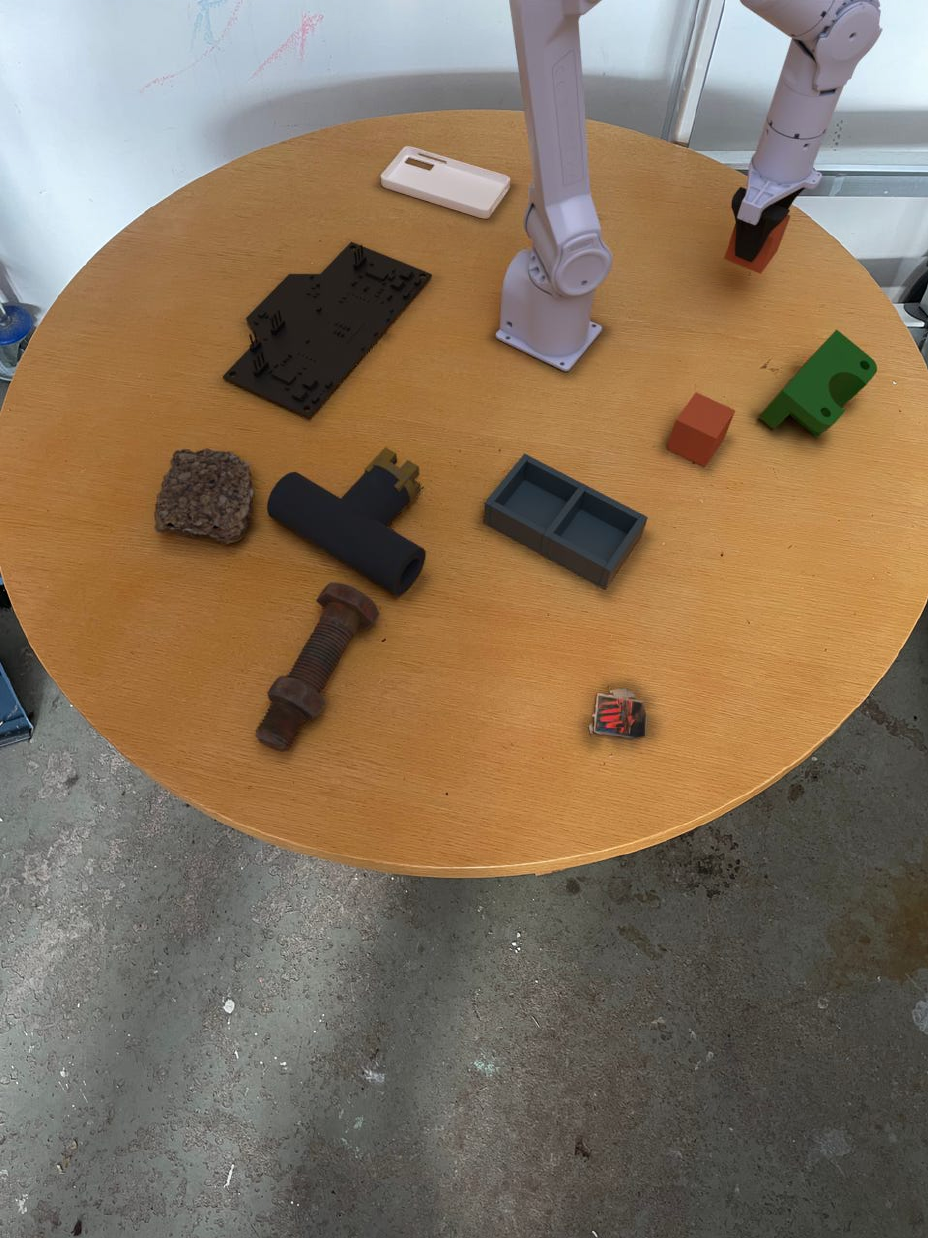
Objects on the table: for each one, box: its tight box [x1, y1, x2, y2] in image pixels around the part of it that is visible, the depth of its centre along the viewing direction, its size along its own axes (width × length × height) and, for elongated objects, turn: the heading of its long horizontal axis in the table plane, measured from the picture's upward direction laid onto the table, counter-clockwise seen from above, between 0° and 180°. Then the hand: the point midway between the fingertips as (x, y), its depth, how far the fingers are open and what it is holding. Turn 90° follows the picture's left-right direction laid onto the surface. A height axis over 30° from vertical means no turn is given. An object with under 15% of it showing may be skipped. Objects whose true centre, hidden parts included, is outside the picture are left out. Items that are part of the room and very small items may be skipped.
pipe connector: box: [266, 446, 427, 597], centre depth 83 cm, size 12×5×15 cm
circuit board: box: [222, 241, 433, 420], centre depth 97 cm, size 25×14×3 cm, turn 150°
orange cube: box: [723, 214, 791, 275], centre depth 93 cm, size 4×4×4 cm
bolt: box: [254, 581, 380, 753], centre depth 75 cm, size 6×5×15 cm
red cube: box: [666, 391, 736, 468], centre depth 88 cm, size 4×4×4 cm
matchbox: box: [588, 688, 648, 739], centre depth 75 cm, size 5×5×1 cm
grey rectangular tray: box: [483, 453, 649, 591], centre depth 83 cm, size 14×7×3 cm, turn 56°
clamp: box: [757, 328, 878, 438], centre depth 90 cm, size 12×6×9 cm, turn 134°
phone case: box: [380, 145, 511, 220], centre depth 109 cm, size 7×1×15 cm
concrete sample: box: [153, 448, 255, 547], centre depth 83 cm, size 12×10×5 cm
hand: (753, 244), depth 94 cm, fingers closed on orange cube, 4 cm apart
